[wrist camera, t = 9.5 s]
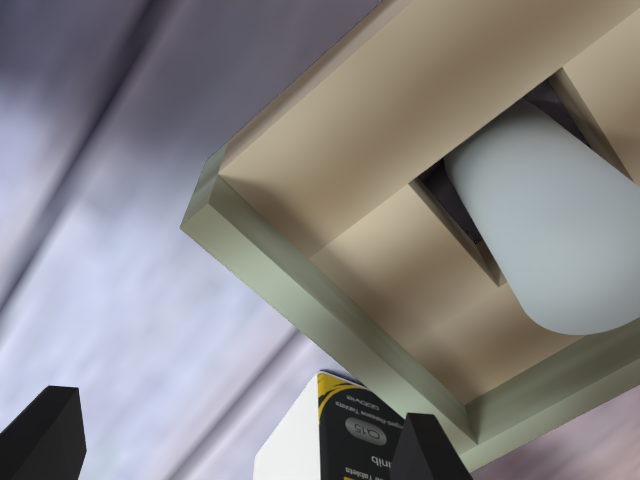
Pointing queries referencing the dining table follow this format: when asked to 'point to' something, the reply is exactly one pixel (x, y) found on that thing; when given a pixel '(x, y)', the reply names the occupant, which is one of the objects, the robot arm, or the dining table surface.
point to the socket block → (425, 210)
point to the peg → (553, 220)
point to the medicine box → (332, 435)
